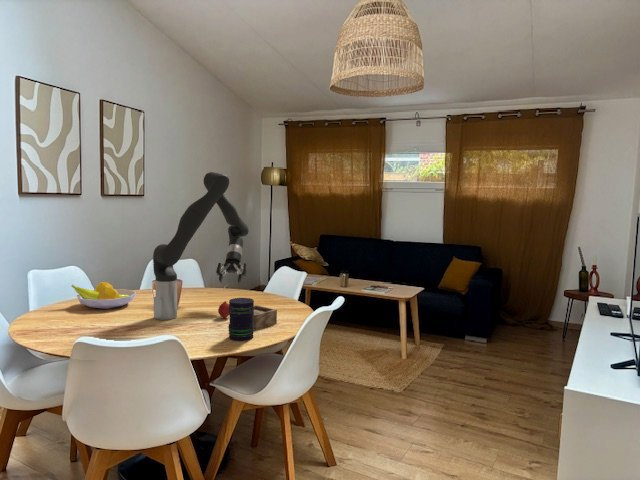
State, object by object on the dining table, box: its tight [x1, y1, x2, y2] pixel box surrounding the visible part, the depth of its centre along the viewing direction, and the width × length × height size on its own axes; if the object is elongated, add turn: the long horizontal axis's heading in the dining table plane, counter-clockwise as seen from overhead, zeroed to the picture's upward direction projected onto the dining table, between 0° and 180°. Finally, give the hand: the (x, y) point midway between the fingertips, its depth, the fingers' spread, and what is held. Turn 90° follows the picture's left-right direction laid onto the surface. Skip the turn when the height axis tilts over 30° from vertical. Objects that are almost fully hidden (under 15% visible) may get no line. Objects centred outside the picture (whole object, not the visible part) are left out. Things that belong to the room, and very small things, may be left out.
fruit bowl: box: [71, 281, 137, 310], centre depth 228 cm, size 28×27×11 cm
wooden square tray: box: [253, 304, 278, 331], centre depth 202 cm, size 13×13×6 cm
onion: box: [217, 300, 230, 319], centre depth 210 cm, size 6×6×8 cm
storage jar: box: [228, 297, 255, 342], centre depth 182 cm, size 10×10×15 cm
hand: (229, 281), depth 221 cm, fingers open, 8 cm apart
